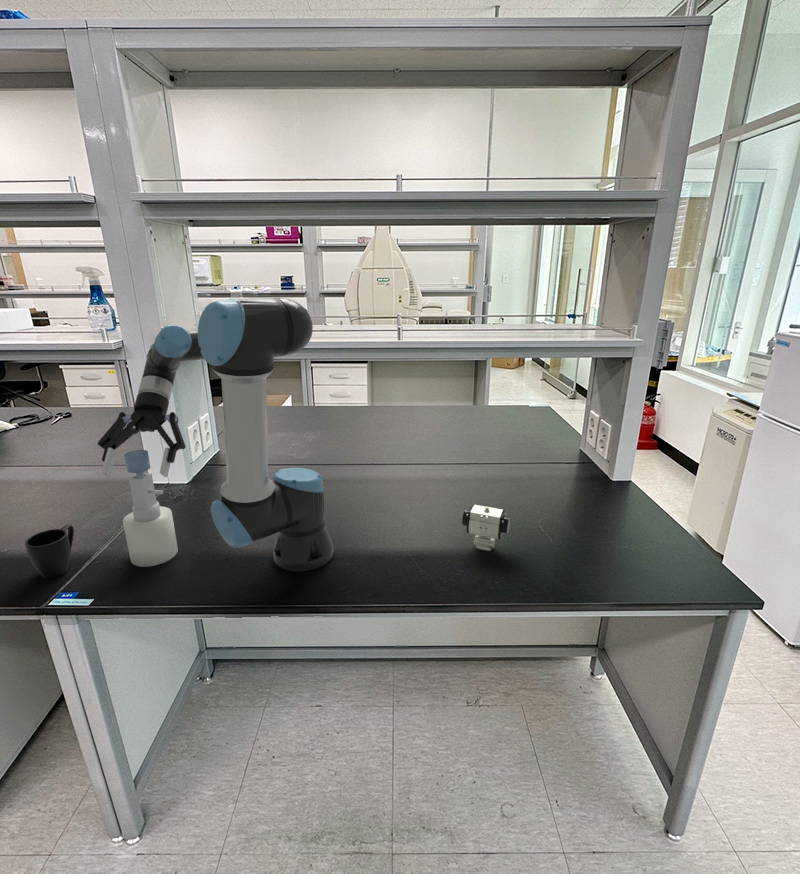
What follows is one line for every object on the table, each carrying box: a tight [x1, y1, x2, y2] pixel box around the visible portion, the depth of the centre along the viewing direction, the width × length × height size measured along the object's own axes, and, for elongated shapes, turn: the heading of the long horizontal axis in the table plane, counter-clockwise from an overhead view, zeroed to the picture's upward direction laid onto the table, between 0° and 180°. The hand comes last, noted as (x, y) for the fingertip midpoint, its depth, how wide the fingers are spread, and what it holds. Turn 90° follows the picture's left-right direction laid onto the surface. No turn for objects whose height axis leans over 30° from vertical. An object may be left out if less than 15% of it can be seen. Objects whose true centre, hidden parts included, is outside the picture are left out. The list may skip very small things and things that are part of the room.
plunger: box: [123, 449, 151, 479], centre depth 118 cm, size 5×5×13 cm
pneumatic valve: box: [461, 504, 511, 552], centre depth 127 cm, size 6×12×12 cm, turn 69°
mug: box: [24, 524, 75, 580], centre depth 118 cm, size 8×12×10 cm
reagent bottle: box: [122, 472, 179, 568], centre depth 122 cm, size 11×11×22 cm
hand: (134, 475), depth 116 cm, fingers open, 13 cm apart
